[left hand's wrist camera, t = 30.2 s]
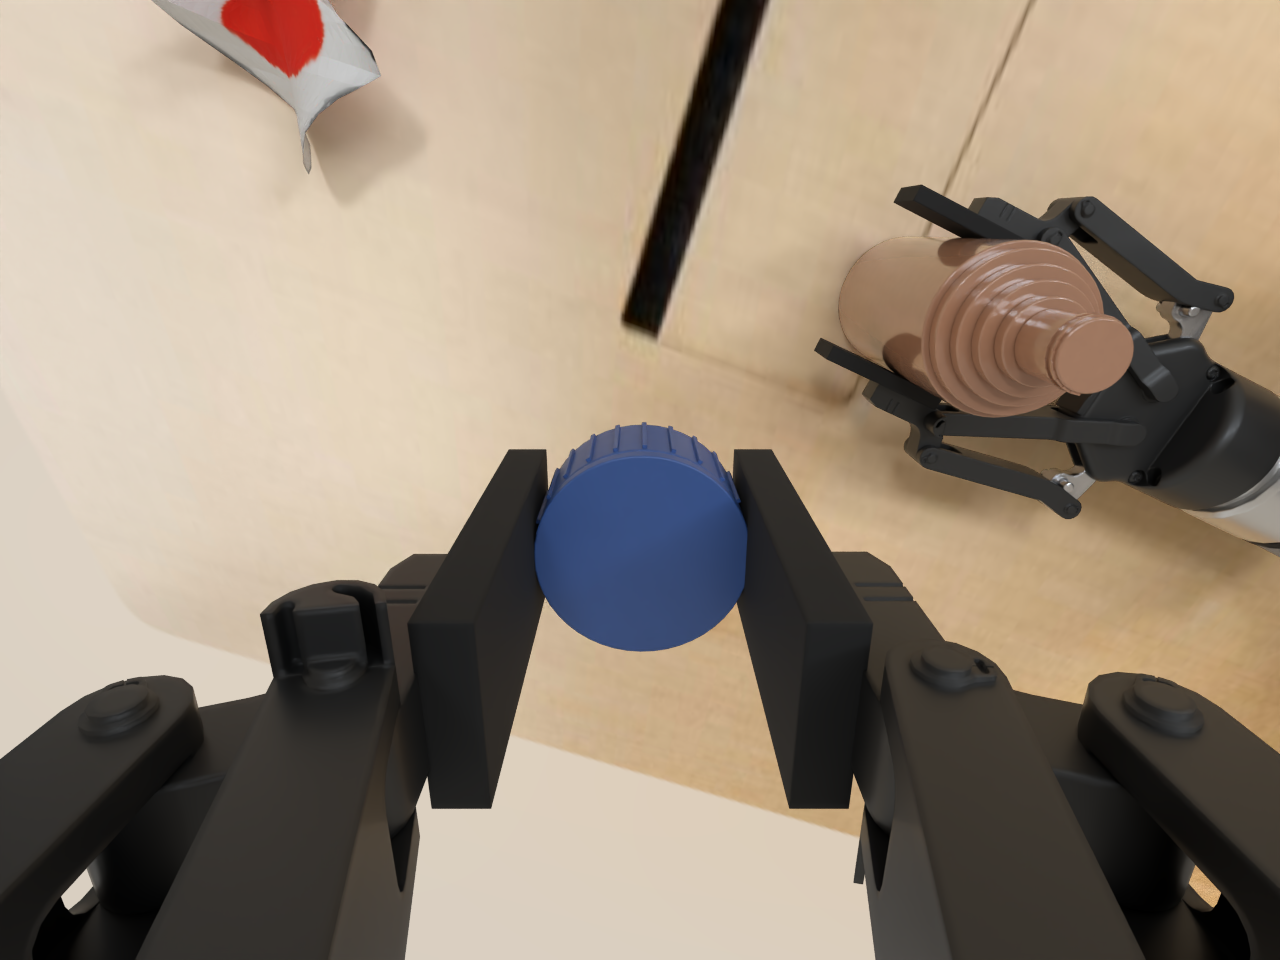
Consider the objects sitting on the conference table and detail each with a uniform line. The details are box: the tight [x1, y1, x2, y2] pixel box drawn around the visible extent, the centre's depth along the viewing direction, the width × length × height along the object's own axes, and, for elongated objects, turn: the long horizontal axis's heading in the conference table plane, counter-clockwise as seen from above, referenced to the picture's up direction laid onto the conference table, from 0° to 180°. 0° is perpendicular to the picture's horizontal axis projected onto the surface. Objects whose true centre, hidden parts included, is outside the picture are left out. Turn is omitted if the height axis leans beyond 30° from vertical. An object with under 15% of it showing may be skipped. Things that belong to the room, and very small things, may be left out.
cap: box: [534, 422, 748, 652], centre depth 13 cm, size 4×4×2 cm
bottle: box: [839, 236, 1134, 418], centre depth 33 cm, size 8×8×19 cm
